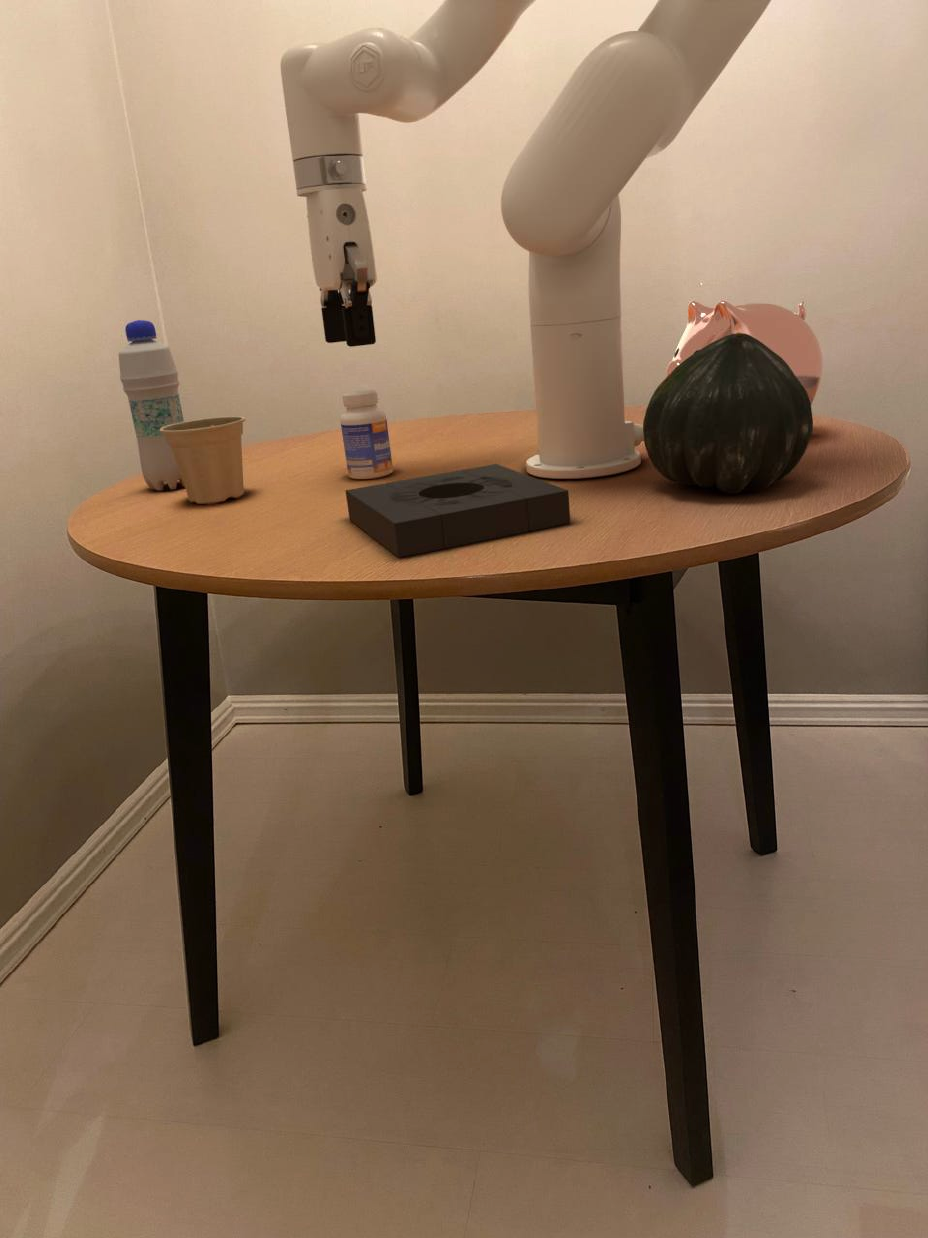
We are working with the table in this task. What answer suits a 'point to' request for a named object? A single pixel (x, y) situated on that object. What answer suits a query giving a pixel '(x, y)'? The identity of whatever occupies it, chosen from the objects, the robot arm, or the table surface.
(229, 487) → the flower pot
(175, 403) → the bottle
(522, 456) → the table surface
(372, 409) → the pill bottle
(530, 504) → the pad
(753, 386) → the squash
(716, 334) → the piggy bank
